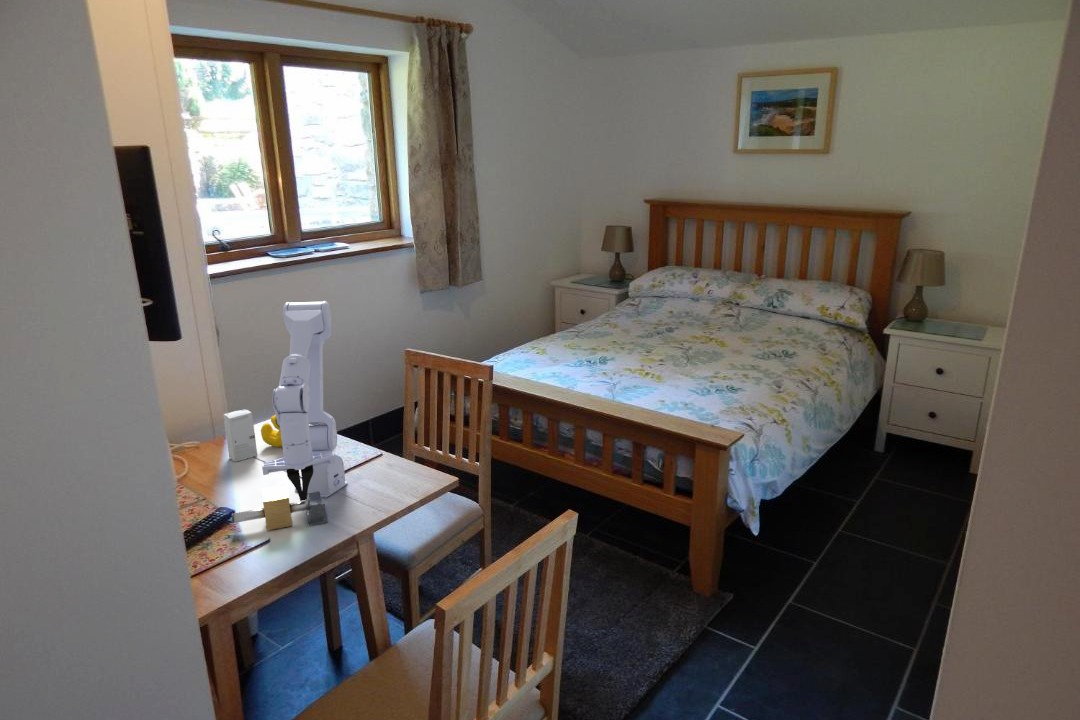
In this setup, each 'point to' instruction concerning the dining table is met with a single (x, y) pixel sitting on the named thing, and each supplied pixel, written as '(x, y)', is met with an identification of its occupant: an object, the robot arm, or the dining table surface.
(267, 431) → the duckling
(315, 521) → the pillow block
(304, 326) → the robot arm
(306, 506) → the shaft inner
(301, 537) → the dining table surface
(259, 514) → the shaft outer
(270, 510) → the block
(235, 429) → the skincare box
